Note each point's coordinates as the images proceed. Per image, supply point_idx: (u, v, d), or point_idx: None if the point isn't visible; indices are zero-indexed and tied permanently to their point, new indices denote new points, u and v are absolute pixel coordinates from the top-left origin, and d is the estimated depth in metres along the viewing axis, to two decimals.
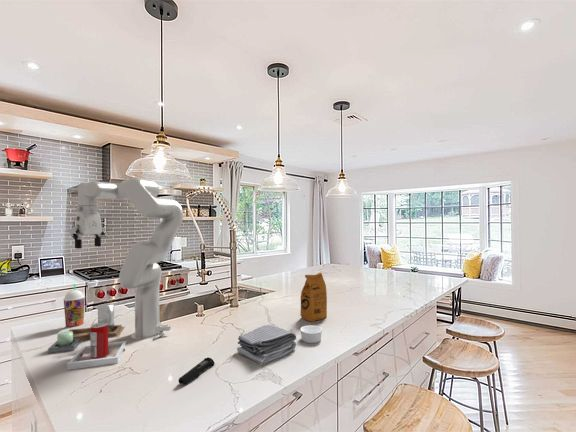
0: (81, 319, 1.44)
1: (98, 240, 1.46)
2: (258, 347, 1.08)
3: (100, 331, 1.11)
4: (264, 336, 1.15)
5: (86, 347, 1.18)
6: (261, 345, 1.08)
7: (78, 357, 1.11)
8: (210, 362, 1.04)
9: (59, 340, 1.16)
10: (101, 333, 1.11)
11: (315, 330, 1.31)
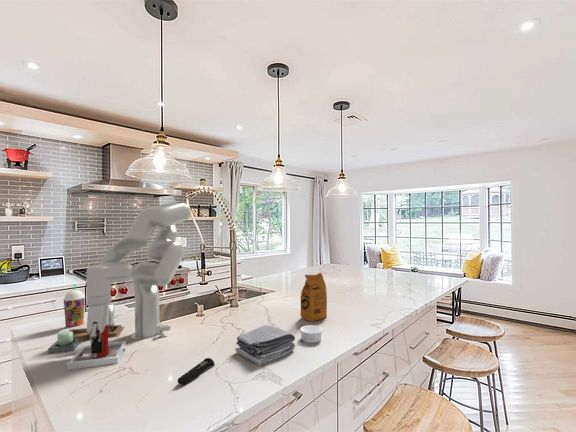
0: (81, 319, 1.44)
1: None
2: (256, 348, 1.07)
3: None
4: (262, 337, 1.15)
5: (86, 347, 1.18)
6: (259, 346, 1.07)
7: (78, 357, 1.11)
8: (210, 362, 1.04)
9: (59, 340, 1.16)
10: None
11: (315, 330, 1.31)
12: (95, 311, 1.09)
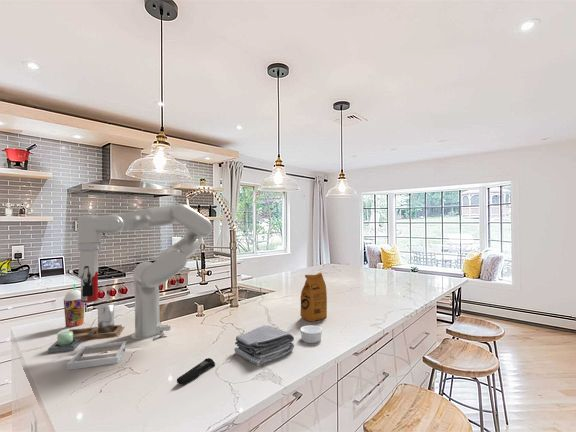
0: (81, 319, 1.44)
1: None
2: (254, 348, 1.07)
3: None
4: (261, 337, 1.14)
5: (86, 347, 1.18)
6: (257, 346, 1.07)
7: (78, 357, 1.11)
8: (210, 363, 1.04)
9: (59, 340, 1.16)
10: (92, 278, 1.18)
11: (315, 330, 1.31)
12: (86, 256, 1.16)
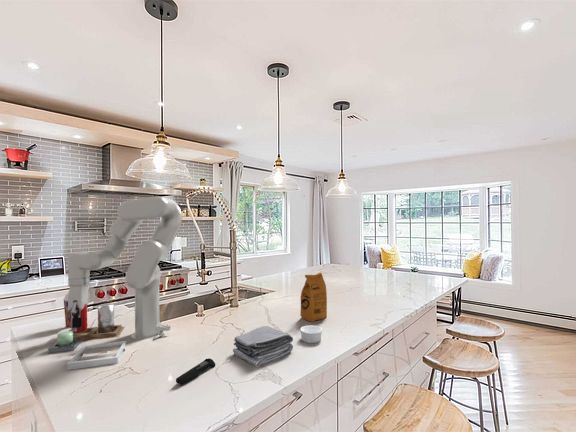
0: None
1: None
2: (253, 349, 1.06)
3: None
4: (260, 338, 1.14)
5: (86, 347, 1.18)
6: (256, 347, 1.06)
7: (78, 357, 1.11)
8: (210, 363, 1.04)
9: (59, 340, 1.16)
10: None
11: (315, 330, 1.31)
12: (75, 291, 1.26)
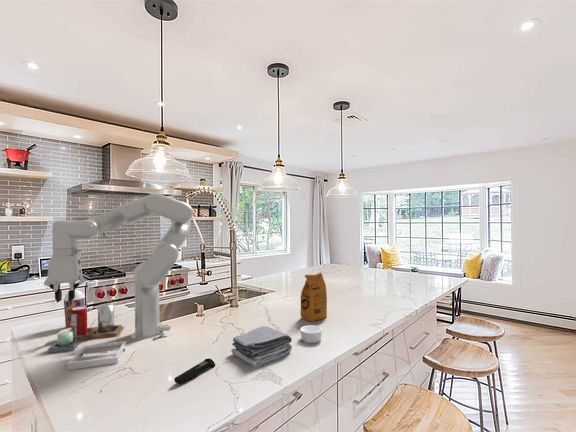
0: None
1: (61, 293, 1.19)
2: (251, 349, 1.06)
3: (79, 313, 1.28)
4: (259, 338, 1.13)
5: (86, 347, 1.18)
6: (254, 347, 1.06)
7: (78, 357, 1.11)
8: (210, 363, 1.04)
9: (59, 340, 1.16)
10: (80, 315, 1.29)
11: (315, 330, 1.31)
12: None
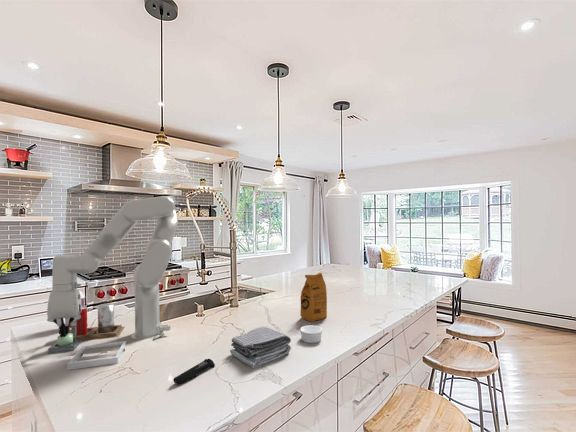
0: None
1: None
2: (250, 350, 1.06)
3: (80, 313, 1.28)
4: (258, 338, 1.13)
5: (86, 347, 1.18)
6: (253, 348, 1.05)
7: (78, 357, 1.11)
8: (209, 363, 1.03)
9: (59, 342, 1.16)
10: None
11: (315, 330, 1.31)
12: None
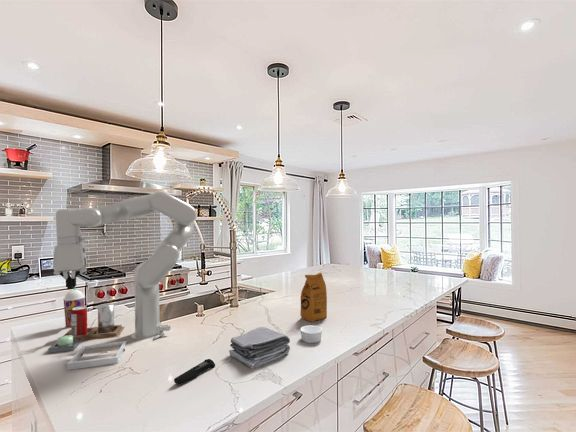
0: None
1: None
2: (249, 350, 1.05)
3: (79, 313, 1.28)
4: (257, 339, 1.13)
5: (86, 347, 1.18)
6: (252, 348, 1.05)
7: (78, 357, 1.11)
8: (210, 364, 1.03)
9: (59, 344, 1.16)
10: (80, 315, 1.29)
11: (315, 330, 1.31)
12: None
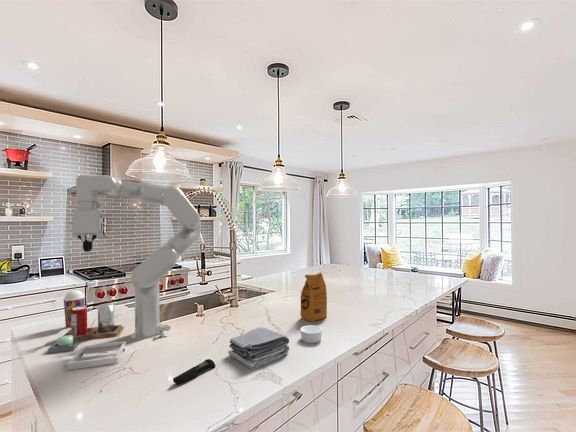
0: None
1: None
2: (248, 351, 1.05)
3: (80, 313, 1.28)
4: (256, 339, 1.12)
5: (86, 347, 1.18)
6: (251, 349, 1.05)
7: (78, 357, 1.11)
8: (210, 364, 1.03)
9: (59, 344, 1.16)
10: (80, 315, 1.29)
11: (315, 330, 1.31)
12: None
